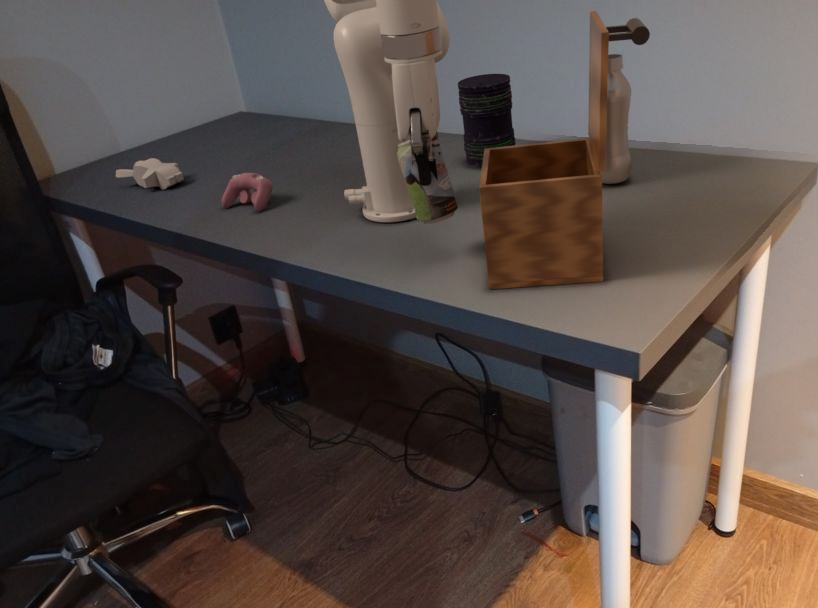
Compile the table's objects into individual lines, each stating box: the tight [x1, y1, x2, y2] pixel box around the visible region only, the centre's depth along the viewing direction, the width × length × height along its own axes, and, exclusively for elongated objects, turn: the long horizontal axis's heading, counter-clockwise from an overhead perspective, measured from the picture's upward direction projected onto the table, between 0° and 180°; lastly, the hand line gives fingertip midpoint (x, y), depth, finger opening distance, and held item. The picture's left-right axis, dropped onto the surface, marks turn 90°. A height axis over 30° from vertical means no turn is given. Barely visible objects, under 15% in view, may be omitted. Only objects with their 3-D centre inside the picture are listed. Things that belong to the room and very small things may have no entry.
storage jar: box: [457, 73, 517, 169], centre depth 138 cm, size 10×10×15 cm
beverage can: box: [397, 134, 459, 225], centre depth 102 cm, size 6×7×12 cm
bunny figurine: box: [115, 157, 185, 190], centre depth 157 cm, size 10×5×15 cm
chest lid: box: [587, 10, 651, 172], centre depth 89 cm, size 15×16×6 cm
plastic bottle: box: [601, 53, 633, 185], centre depth 118 cm, size 6×7×20 cm
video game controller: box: [221, 172, 274, 212], centre depth 137 cm, size 10×5×7 cm, turn 59°
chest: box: [478, 137, 604, 290], centre depth 98 cm, size 15×16×14 cm
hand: (429, 179), depth 103 cm, fingers closed on beverage can, 5 cm apart
